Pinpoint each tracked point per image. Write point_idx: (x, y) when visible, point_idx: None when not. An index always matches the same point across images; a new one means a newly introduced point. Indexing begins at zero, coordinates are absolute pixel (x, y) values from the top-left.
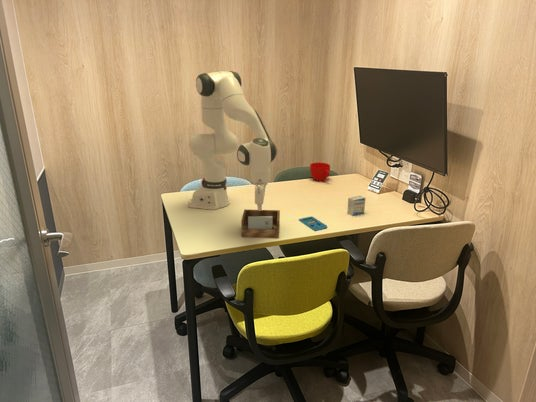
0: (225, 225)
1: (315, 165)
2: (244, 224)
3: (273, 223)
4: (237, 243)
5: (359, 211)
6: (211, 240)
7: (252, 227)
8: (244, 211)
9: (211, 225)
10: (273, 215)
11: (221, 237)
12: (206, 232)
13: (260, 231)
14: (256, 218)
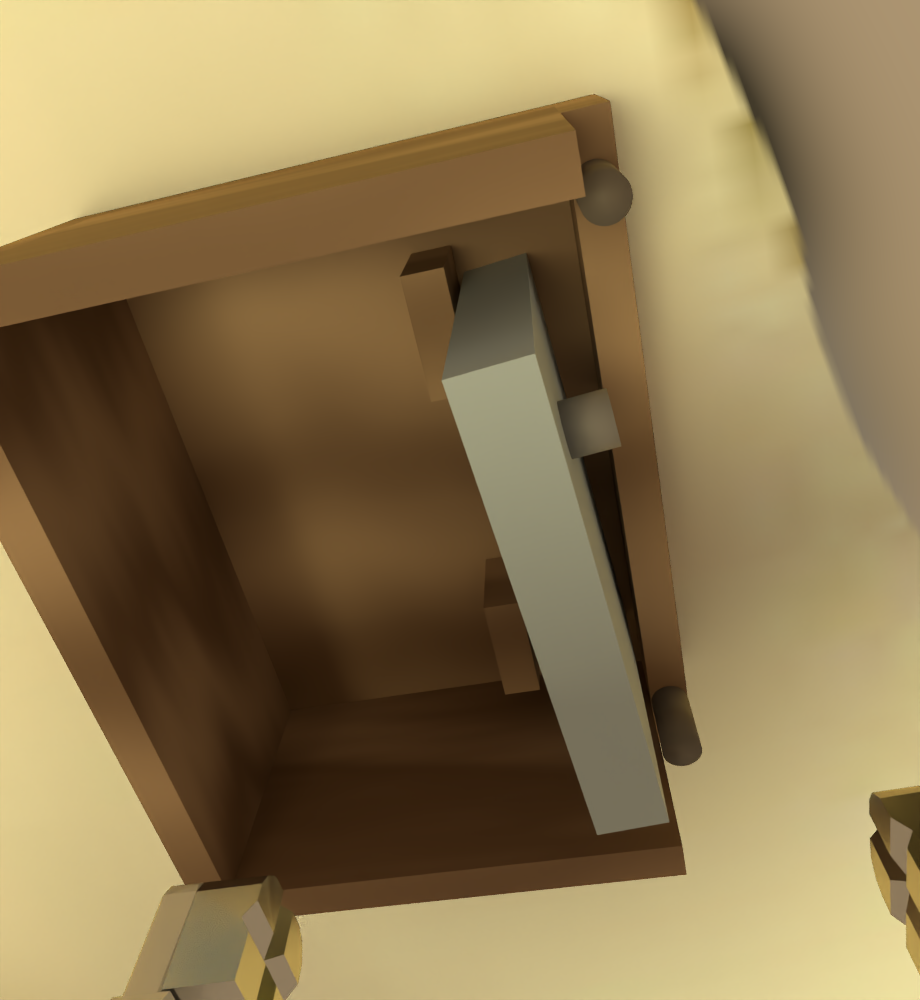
0: None
1: None
2: (556, 753)
3: (131, 335)
4: (882, 657)
5: None
6: (821, 910)
7: (623, 621)
8: (294, 907)
9: (436, 993)
10: (55, 393)
11: (726, 848)
12: (624, 990)
13: (656, 462)
14: (627, 678)
